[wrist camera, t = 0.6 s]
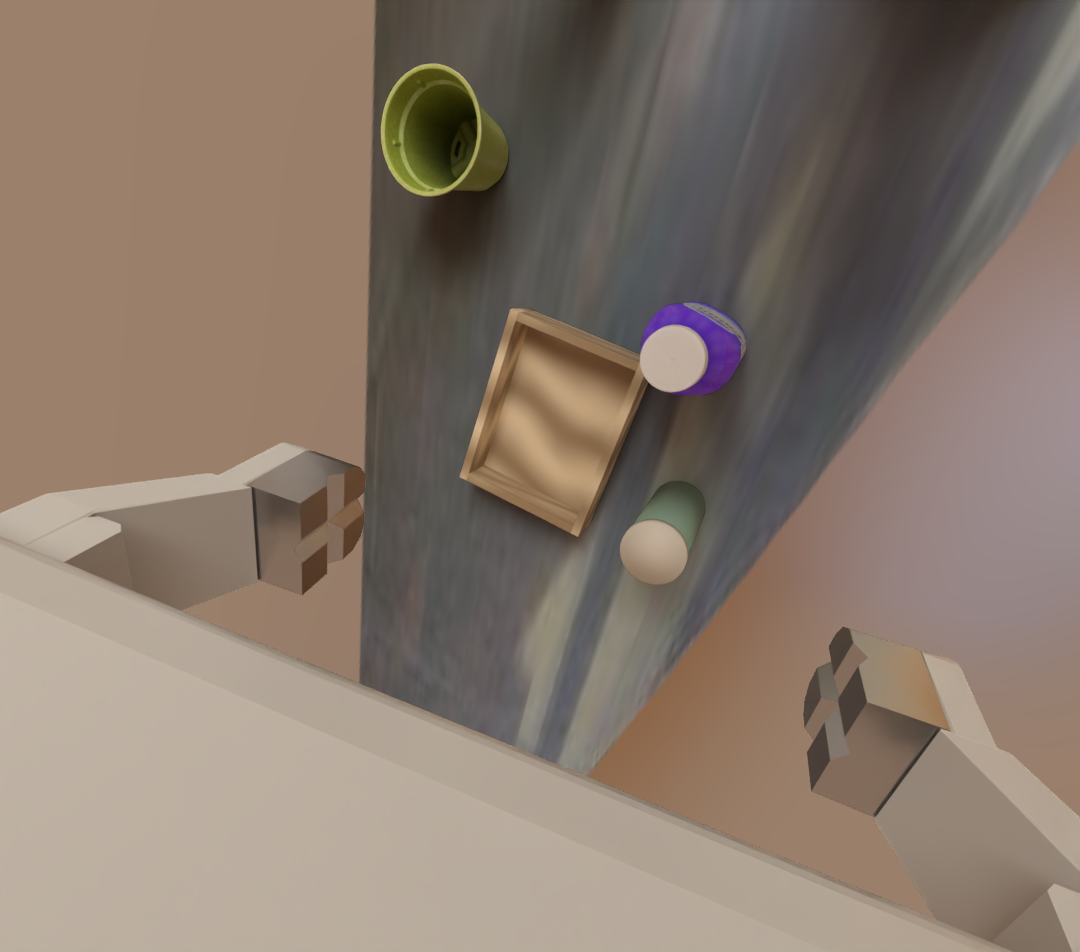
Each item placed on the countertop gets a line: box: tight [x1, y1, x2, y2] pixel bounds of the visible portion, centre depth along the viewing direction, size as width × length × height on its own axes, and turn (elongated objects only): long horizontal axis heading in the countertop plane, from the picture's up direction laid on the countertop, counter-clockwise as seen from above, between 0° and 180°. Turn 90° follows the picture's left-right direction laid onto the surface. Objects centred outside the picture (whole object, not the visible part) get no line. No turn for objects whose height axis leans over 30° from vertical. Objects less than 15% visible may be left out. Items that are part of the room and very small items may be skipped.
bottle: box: [640, 302, 746, 396], centre depth 44 cm, size 7×6×17 cm
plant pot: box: [381, 64, 509, 197], centre depth 51 cm, size 9×9×9 cm
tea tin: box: [620, 481, 705, 585], centre depth 51 cm, size 5×5×12 cm
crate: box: [460, 308, 649, 537], centre depth 57 cm, size 18×14×4 cm
